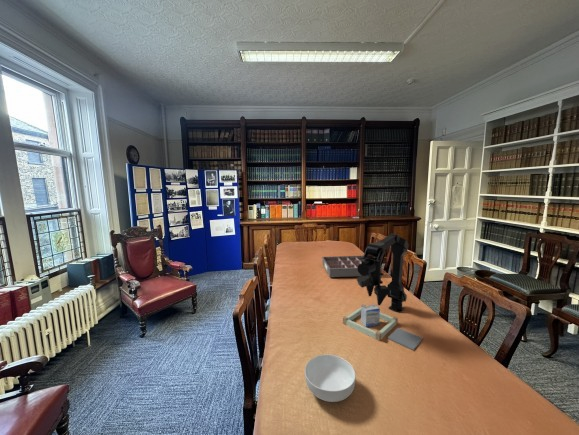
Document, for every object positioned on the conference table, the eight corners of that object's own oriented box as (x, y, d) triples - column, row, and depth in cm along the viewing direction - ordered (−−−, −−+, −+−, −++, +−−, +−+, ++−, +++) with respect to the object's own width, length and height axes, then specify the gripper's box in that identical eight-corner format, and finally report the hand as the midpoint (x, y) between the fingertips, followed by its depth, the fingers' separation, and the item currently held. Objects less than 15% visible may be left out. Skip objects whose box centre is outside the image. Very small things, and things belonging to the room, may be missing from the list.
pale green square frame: (362, 309, 133) (362, 304, 132) (397, 323, 119) (397, 317, 118) (342, 323, 120) (342, 317, 119) (379, 341, 106) (379, 334, 105)
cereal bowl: (347, 369, 89) (347, 352, 88) (362, 411, 73) (362, 390, 72) (302, 371, 89) (302, 354, 88) (307, 413, 72) (307, 392, 71)
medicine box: (365, 327, 116) (366, 310, 115) (360, 322, 120) (361, 306, 119) (379, 324, 118) (380, 308, 117) (374, 320, 122) (374, 304, 121)
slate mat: (397, 328, 114) (397, 327, 114) (422, 339, 106) (422, 337, 106) (387, 338, 107) (387, 337, 107) (413, 350, 99) (413, 349, 99)
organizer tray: (321, 265, 210) (321, 254, 208) (365, 264, 211) (366, 253, 210) (329, 279, 178) (329, 266, 177) (381, 277, 180) (381, 264, 178)
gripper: (351, 264, 122) (351, 293, 124) (367, 279, 104) (367, 312, 106) (371, 263, 123) (371, 291, 126) (391, 276, 105) (390, 309, 107)
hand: (374, 300), depth 116 cm, fingers open, 9 cm apart
